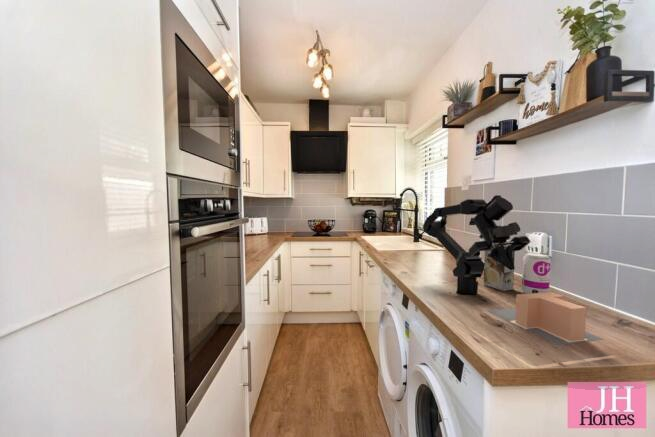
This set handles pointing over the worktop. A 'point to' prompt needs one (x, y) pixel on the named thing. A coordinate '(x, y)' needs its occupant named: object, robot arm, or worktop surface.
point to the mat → (548, 336)
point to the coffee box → (497, 274)
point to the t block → (551, 314)
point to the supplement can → (536, 273)
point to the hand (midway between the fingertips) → (512, 269)
